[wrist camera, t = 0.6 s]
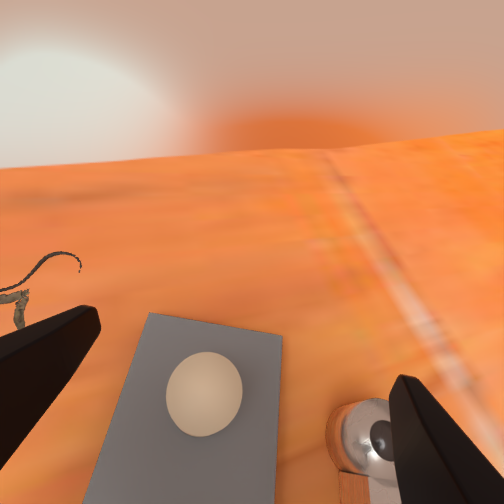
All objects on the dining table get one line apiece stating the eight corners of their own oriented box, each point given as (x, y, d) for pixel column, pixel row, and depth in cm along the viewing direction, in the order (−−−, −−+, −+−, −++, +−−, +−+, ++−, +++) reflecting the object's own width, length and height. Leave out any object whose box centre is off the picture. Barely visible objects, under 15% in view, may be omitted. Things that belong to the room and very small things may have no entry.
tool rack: (250, 817, 12) (284, 1035, 8) (-17, 811, 11) (-151, 1052, 7) (277, 341, 24) (297, 318, 20) (151, 319, 23) (142, 289, 19)
